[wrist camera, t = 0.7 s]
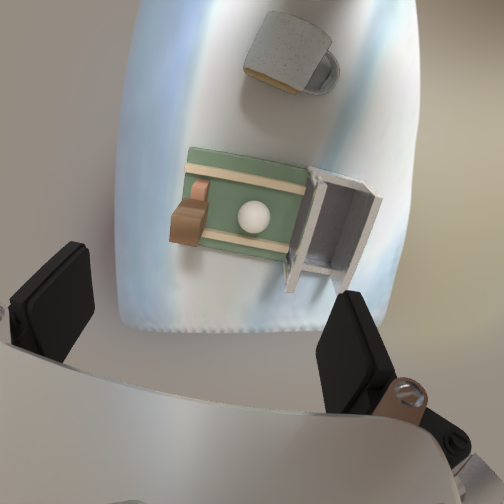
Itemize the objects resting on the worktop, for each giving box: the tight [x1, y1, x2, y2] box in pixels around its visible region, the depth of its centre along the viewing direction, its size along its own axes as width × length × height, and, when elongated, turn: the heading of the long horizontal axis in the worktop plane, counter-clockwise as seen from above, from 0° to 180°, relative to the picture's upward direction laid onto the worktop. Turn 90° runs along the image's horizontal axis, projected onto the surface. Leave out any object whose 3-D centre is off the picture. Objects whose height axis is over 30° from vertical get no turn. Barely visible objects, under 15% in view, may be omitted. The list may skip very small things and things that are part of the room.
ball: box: [238, 201, 270, 233], centre depth 38 cm, size 4×4×4 cm
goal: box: [283, 166, 383, 296], centre depth 38 cm, size 14×8×8 cm, turn 169°
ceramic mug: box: [243, 11, 340, 95], centre depth 28 cm, size 11×8×8 cm
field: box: [182, 147, 308, 261], centre depth 40 cm, size 13×15×2 cm
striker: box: [169, 178, 210, 247], centre depth 35 cm, size 6×3×9 cm, turn 169°
